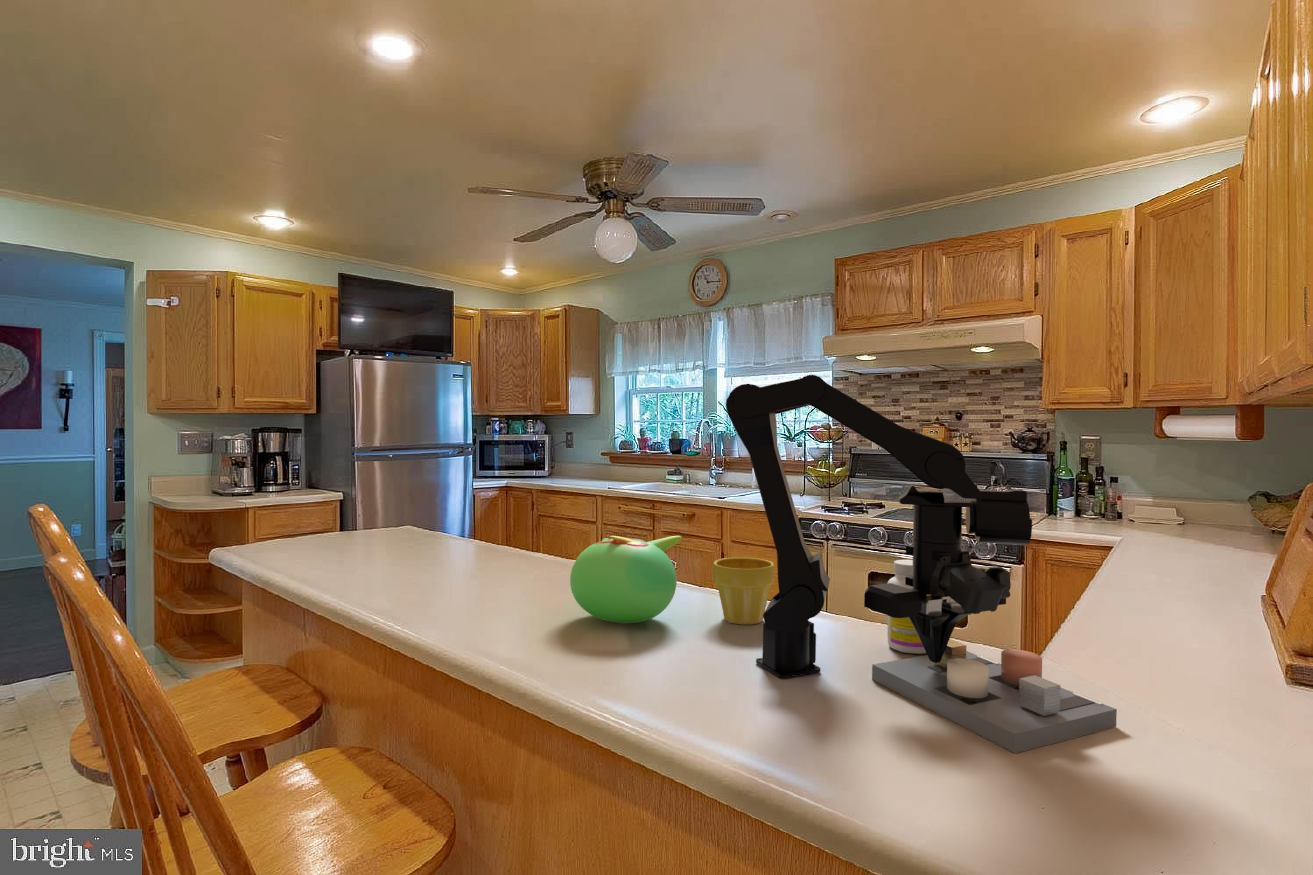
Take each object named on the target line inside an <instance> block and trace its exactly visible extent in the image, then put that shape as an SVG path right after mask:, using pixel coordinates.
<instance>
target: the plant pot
mask: <svg viewBox="0 0 1313 875" xmlns="http://www.w3.org/2000/svg"><path fill="white" fill-rule="evenodd" d="M712 569H713V570H712V571H713V572H712V574H713V582H714V583H715V584H716V585H717V591H718V593H719V595H718V596H719V599H720V605H721V609H722V613H723V619H724V620H725V621H727V622H728V623H730V624H735V625H746V626H747V625H748V626H749V625H758V624H760V623H763V622H764V618H763V614H764V612H765V610H766V608H767V603H768V599H769V594H770V588H771V586H772V585H773V584H774V583H775V564H774V562H773V561H771V560H766V559H763V558H756V557H724V558H719V559H716V560H714V562H713V568H712Z"/></svg>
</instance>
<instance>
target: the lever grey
mask: <svg viewBox="0 0 1313 875" xmlns="http://www.w3.org/2000/svg"><path fill="white" fill-rule="evenodd" d="M1060 687H1061V684H1059V683H1057V682H1053V681H1051V680H1048V679H1047V678H1046V679H1045V678H1043V677H1042V678H1041V677H1038V676H1035V675H1034V676H1029V677H1024V678H1020V679H1019V688H1018V690H1019V705H1020V706H1022V707H1024V708H1027V709H1029V710H1031V711H1033V712H1036V713H1038V714H1040V715H1043V716H1046V715H1051V714H1055V713H1059V712H1060Z"/></svg>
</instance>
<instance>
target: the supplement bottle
mask: <svg viewBox="0 0 1313 875" xmlns="http://www.w3.org/2000/svg"><path fill="white" fill-rule="evenodd" d="M893 570H894V572H895V573H894V576H893V577H891V578H889V580H888V581H887V582H886V584H888V583H892V584H895V585H898V586H901V587H905V588H908V589H913V587H912V586H909V585H905V577H909V576H912V574H913V559H896V560H894V561H893ZM927 596H930V595H929V594H928V595H927ZM886 616H887V622H886V623H887V625H886V626H887V644H888V646H889V647H890V648H891V649H893V650H895V651H898V652H901V653H905V654H917V655H919V654H920V655H921V654H922V655H923V654H927V653H926V651H925V649H924V647H923V644H922V642H921V640H920V638H919V636H918V633H917V631H916V629H915V627H914V625H913V624H912V622H911V620H910V618H909V617H906V618H893V617H890V616H888V615H886Z"/></svg>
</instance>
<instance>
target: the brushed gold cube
mask: <svg viewBox="0 0 1313 875" xmlns="http://www.w3.org/2000/svg"><path fill="white" fill-rule="evenodd" d="M966 651H967V644H964V643H962V642H959V641H956V640H954V639H951V638H950V639H949V641H948V644H947V646H946V649H945V651H944V654H943V656H942V659H941V661H940V662H938V663H934V662H933V663H934V664H936V665H939V666H941V667H943V668H946V669H947V661H948V660H950V659H956V658H961V659H966Z"/></svg>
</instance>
